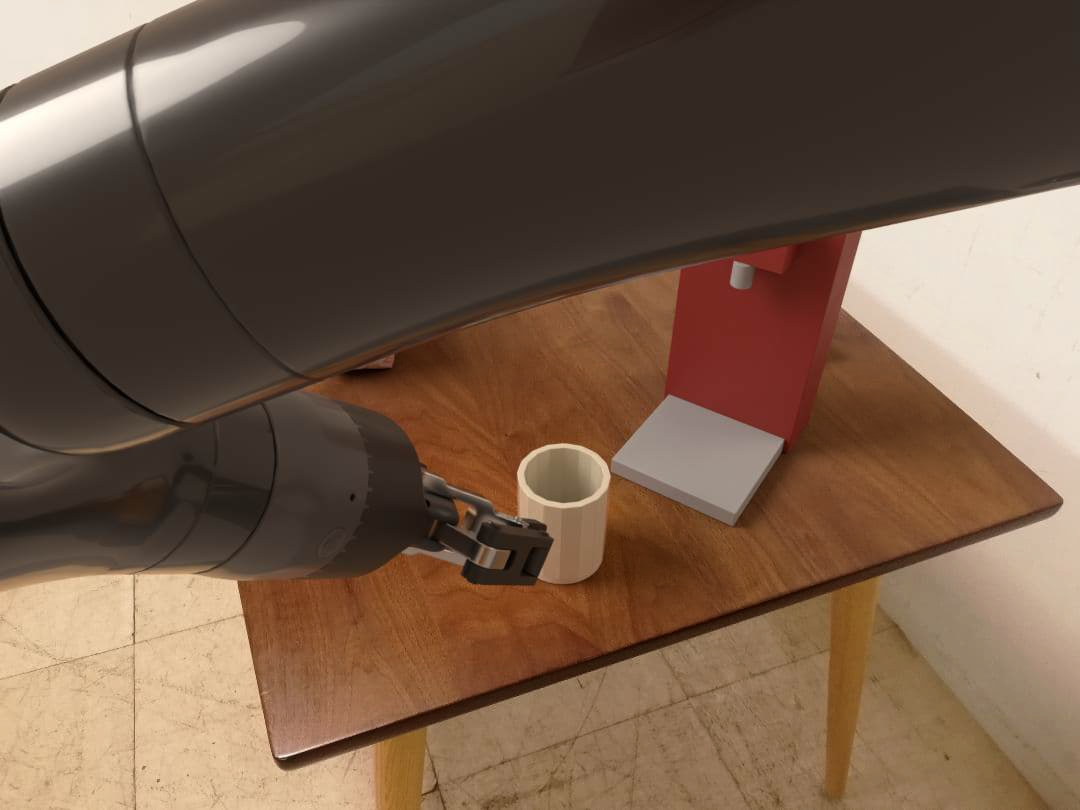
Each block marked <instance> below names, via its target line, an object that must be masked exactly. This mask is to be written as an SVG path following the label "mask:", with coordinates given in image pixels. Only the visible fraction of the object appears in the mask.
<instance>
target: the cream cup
mask: <svg viewBox="0 0 1080 810" xmlns="http://www.w3.org/2000/svg"><path fill="white" fill-rule="evenodd" d="M611 479H612V475H611V471H610V469H609V466H608V463H607V462H606V461H605V460H604V459H603V458H602V456H600V454H598V453H597V452H595V451H594V450H591V449H589V448H587V447H585V446H583V445H578V444H571V443H565V442H561V443H553V444H546V445H544V446H541V447H539V448H536V449H534V450H532V451H531V452H529V453H528V454H527V455H526V456H525V457H524V458H523V459H522V460H521V461H520V464H519V466H518V469H517V472H516V495H517V496H516V497H517V500H516V501H517V502H516V503H517V516H519V517H521V518H528V519H535V520H537V521H539V522H541V523H543V524H545V525H547V531H546V532H547V533H549V535H550V537H552V538H554V542H553V544H552V546H551V548H550V551H549V553H548V556H547V558H546V560H545V563H544V565H543V567H542V570H541V572H540V574H539V576H538V579H537V580H540V581H543V582H546V583H548V584H554V585H571V584H576V583H579V582H582V581H584V580H586V579H588V578H589V577H591V576H592V575H594V574H595V573H596V572H597V571H598V569H599V568H600V566H601V565H602V562H603V560H604V555H605V554H604V553H605V548H606V540H607V539H606V538H607V529H608V528H607V526H608V514H609V502H610V494H611V493H610V492H611V483H612V482H611V481H612V480H611Z"/></svg>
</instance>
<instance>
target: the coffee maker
mask: <svg viewBox="0 0 1080 810" xmlns="http://www.w3.org/2000/svg"><path fill="white" fill-rule="evenodd" d="M862 233H863V231H860V232H855V233H850V234H845V235H840V236H835V237H830V238H825V239H820V240H815V241H810V242H805V243H800V244H795V245H791V246H786V247H781V248H777V249H772V250H767V251H762V252H758V253H753V254H748V255H744V256H739V257H734V258H730V259H725V260H720V261H716V262H711V263H706V264H702V265H697V266H692V267H688V268H683V269H680V272H679V279H678V287H677V294H676V303H675V310H674V317H673V323H672V324H673V326H672V332H671V339H670V347H669V356H668V362H667V369H666V370H667V371H666V378H665V385H664V394H663V400H662V401H661V403H660V404H659V405H658V406H657V407H656V408H655V410H654V411H653V412H652V413H651V414H650V415H649V417H648V418H646V419H645V421H644V422H643V423H642V424H641V425H640V427H638V429H636V431H635V432H634V433H633V435H631V437H630V438H629V439H628V440H627V441H626V442H625V443H624V444H623V445H622V447H620V449H619V450H618V451H617V452H616V453H615V455H614V456H613V457H612V458H611V463H610V473H612V474H614V475H617V476H619V477H621V478H622V479H626V480H628V481H630V482H632V483H634V484H637V485H639V486H641V487H643V488H646V489H648V490H649V491H652V492H654V493H657V494H658V495H661V496H663V497H666V498H668V499H669V500H672V501H673V502H674V501H675V502H677V503H679V504H681V505H684V506H686V507H688V508H690V509H692V510H694V511H696V512H699V513H701V514H703V515H706V516H708V517H710V518H712V519H714V520H717V521H719V522H721V523H723V524H726V525H727V526H730V527H734V526H735V525H736V523H737V521H738V520H739V518H740V516H741V515H742V513H743V512H744V510H745V509H746V507H747V506H748V504H749V503H750V501H751V500H752V498H753V497H754V495H755V493H756V492H757V490H758V489H759V487H761V485H762V483H763V481H764V480H765V478H766V477H767V475H768V473H769V472H770V470H771V469H772V467H773V466H774V465H775V463H776V461H777V460H778V458H780V456H781V454H782V453H784V454H789V453H790V451H791V449H792V448H793V446H794V444H795V443H796V441H797V440H798V438H799V437H800V435H801V434H802V432H803V431H804V429H805V427H806V426H807V424H808V423H809V422H810V419H811V415H812V412H813V408H814V405H815V401H816V399H817V394H818V390H819V387H820V383H821V379H822V376H823V372H824V369H825V365H826V362H827V358H828V356H829V352H830V349H831V344H832V340H833V336H834V333H835V330H836V326H837V324H838V323H837V322H838V319H839V315H840V312H841V309H842V305H843V301H844V298H845V295H846V291H847V288H848V284H849V280H850V277H851V273H852V270H853V266H854V262H855V259H856V255H857V252H858V248H859V245H860V241H861V238H862Z"/></svg>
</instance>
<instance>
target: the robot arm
mask: <svg viewBox="0 0 1080 810" xmlns="http://www.w3.org/2000/svg"><path fill="white" fill-rule="evenodd" d="M1075 186H1076V187H1077V186H1080V0H194V1H192V2H190V3H187V4H185V5H183V6H181V7H178V8H176V9H174V10H172V11H169V12H167V13H165V14H163V15H161V16H158V17H156V18H154V19H152V20H151V21H149V22H145V23H143V24H140V25H138V26H135V27H134V28H132V29H130V30H128V31H125V32H123V33H121V34H119V35H116V36H115V37H113V38H110V39H107V40H106V41H104V42H102V43H99V44H97V45H95V46H92V47H91V48H88V49H86V50H84V51H82V52H79V53H78V54H76V55H73V56H70V57H69V58H67V59H65V60H62V61H60V62H58V63H55V64H54V65H51V66H49V67H47V68H44V69H43V70H41V71H37V72H36V73H34V74H31V75H29V76H27V77H25V78H23V79H21V80H20V81H18V82H16V83H12V84H10V85H8V86H5V87H4V88H2V89H0V593H4V592H9V591H13V590H18V589H21V588H25V587H29V586H34V585H40V584H44V583H45V584H46V583H50V582H57V581H63V580H70V579H78V578H86V577H96V576H121V575H122V576H141V575H142V576H145V575H146V576H148V575H155V576H157V575H191V576H192V575H193V576H200V577H207V578H212V579H218V580H226V581H240V582H241V581H242V582H247V581H248V582H250V581H253V582H254V581H299V580H300V581H301V580H306V581H307V580H342V579H343V580H344V579H346V580H347V579H355V578H360V577H363V576H366V575H369V574H371V573H373V572H375V571H377V570H379V569H381V568H382V567H384V566H385V565H386V564H388V563H389V562H391V561H392V560H393V559H395V558H396V557H397V556H398V555H399V554H403V555H407V556H414V555H417V554H422V555H426V556H428V557H431V558H435V559H438V560H442V561H444V562H448V563H451V564H455V565H458V566H461V567H462V569H461V571H460V573H459V574H460V576H461V577H463V578H464V579H466V581H467V582H468V583H470V584H472V585H476V586H477V585H479V586H511V587H512V586H513V587H515V586H517V587H518V586H519V587H521V586H523V587H534V586H536V584H537V581H538V580H539V579H538V576H539V574H540V572H541V570H542V567H543V565H544V563H545V560H546V558H547V556H548V553H549V551H550V548H551V546H552V544H553V542H554V538H552V537H550V535H549V533H547V532H546V531H547V525H545V524H543V523H541V522H539V521H537V520H535V519H528V518H521V517H519V516H518V514H517V515H516V514H515V515H514V516H513V515H511V514H507V513H505V512H502V511H499V510H496V509H495V505H494V503H493V501H491V500H489V499H488V498H487V497H485V496H484V495H483V494H481V493H480V492H479V493H478V492H476V491H473V490H470V489H468V488H465V487H462V486H460V485H457V484H453V483H451V482H449V481H446V479H444V478H443V477H442V476H440V475H439V474H438V473H437V472H435V471H433V470H430V469H428V466H427V464H425V463H423V462H421V461H420V459H419V456H418V452H417V450H416V448H415V446H414V444H413V443H412V441H411V439H410V437H409V436H408V435H407V433H406V432H405V431H404V429H403V428H402V427H401V426H400V425H399V424H398V423H397V422H395V421H394V420H393V419H391V418H390V417H389V416H387V415H385V414H384V413H381V412H378V411H376V410H373V409H369V408H367V407H363V406H360V405H357V404H353V403H351V402H347V401H343V400H341V399H337V398H333V397H331V396H327V395H324V394H321V393H317V392H314V391H310V390H307V389H304V388H307V387H310V386H313V385H315V384H319V383H321V382H323V381H326V380H327V379H331V378H335V377H337V376H340V375H343V374H345V373H348V372H350V371H354V370H353V369H356V368H359V367H361V366H364V365H367V364H369V363H372V362H375V361H377V360H380V359H382V358H385V357H388V356H390V355H393V354H395V355H396V354H398V353H401V352H404V351H407V350H409V349H411V348H414V347H417V346H420V345H423V344H426V343H429V342H432V341H435V340H438V339H441V338H443V337H447V336H450V335H452V334H456V333H458V332H461V331H464V330H467V329H471V328H473V327H476V326H479V325H483V324H485V323H488V322H492V321H494V320H497V319H498V320H499V319H501V318H504V317H507V316H512V315H515V314H517V313H520V312H524V311H528V310H531V309H535V308H538V307H541V306H544V305H548V304H551V303H555V302H558V301H561V300H564V299H567V298H571V297H575V296H578V295H582V294H586V293H590V292H595V291H597V290H598V291H599V290H600V289H604V288H608V287H609V288H610V287H612V286H615V285H616V286H617V285H620V284H623V283H627V282H631V281H634V280H638V279H641V278H646V277H650V276H655V275H660V274H665V273H669V272H674V271H678V270H681V269H683V268H688V267H692V266H697V265H702V264H706V263H711V262H716V261H720V260H725V259H730V258H734V257H739V256H744V255H748V254H753V253H758V252H762V251H767V250H772V249H777V248H781V247H786V246H791V245H795V244H800V243H805V242H810V241H815V240H820V239H825V238H830V237H835V236H840V235H845V234H850V233H855V232H860V231H862V232H865V231H870V230H874V229H879V228H882V227H888V226H893V225H898V224H902V223H907V222H908V223H909V222H912V221H916V220H917V221H918V220H921V219H927V218H931V217H932V218H933V217H936V216H940V215H946V214H950V213H956V212H959V211H964V210H969V209H974V208H978V207H983V206H987V205H992V204H996V203H1001V202H1005V201H1006V202H1007V201H1010V200H1016V199H1019V198H1020V199H1021V198H1025V197H1030V196H1035V195H1039V194H1044V193H1047V192H1054V191H1058V190H1061V189H1067V188H1071V187H1075ZM454 500H455V501H457V502H460V503H464V504H466V505H467V510H466V513H465V515H464V517H463V520H462V521H461V524H460V525H459V523H460V514H459V511H458V509H457V505H456V503H455V501H454Z"/></svg>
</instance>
